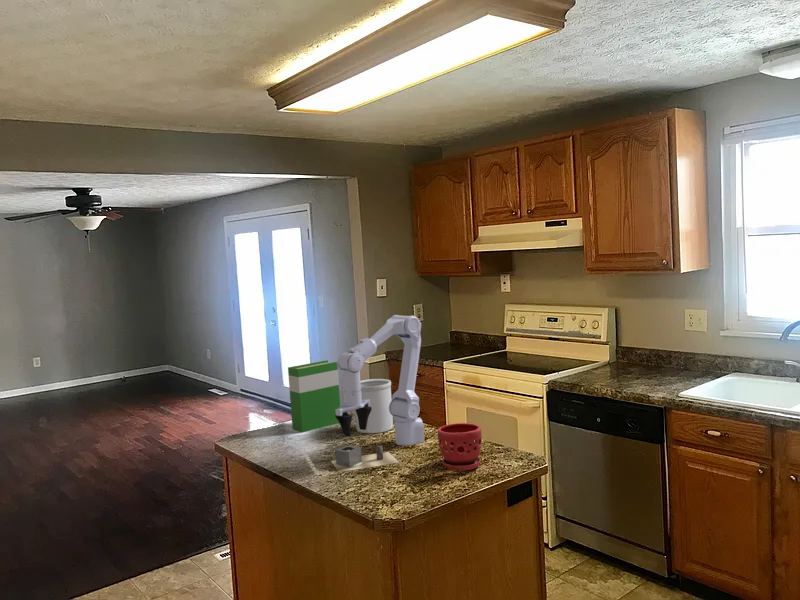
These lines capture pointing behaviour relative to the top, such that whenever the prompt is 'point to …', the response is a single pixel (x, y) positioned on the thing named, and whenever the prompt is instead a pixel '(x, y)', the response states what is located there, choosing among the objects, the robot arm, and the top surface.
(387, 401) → the utensil holder
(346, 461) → the steel collar
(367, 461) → the board
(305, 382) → the hardback book
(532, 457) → the top surface
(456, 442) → the plant pot
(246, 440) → the top surface
